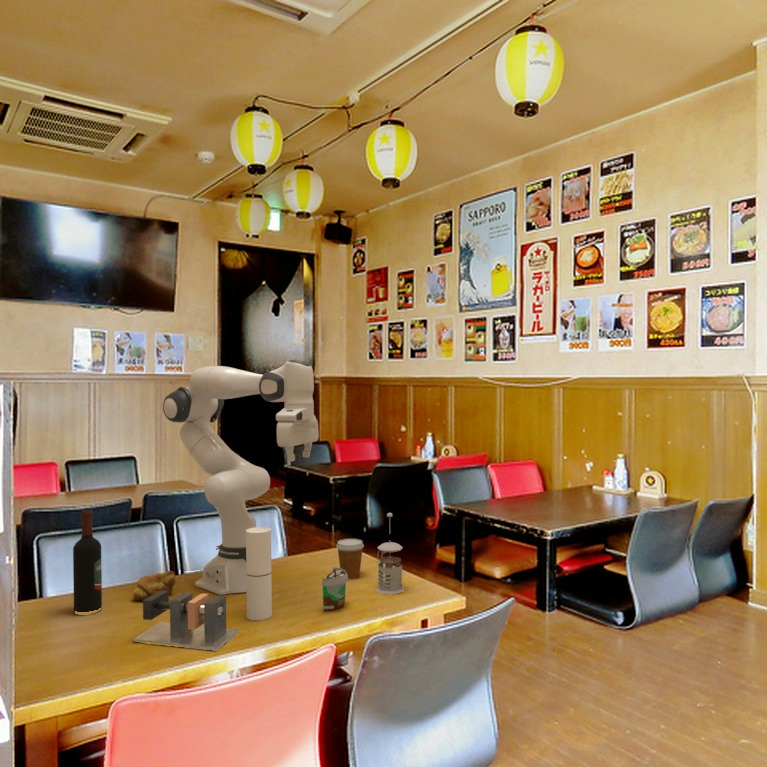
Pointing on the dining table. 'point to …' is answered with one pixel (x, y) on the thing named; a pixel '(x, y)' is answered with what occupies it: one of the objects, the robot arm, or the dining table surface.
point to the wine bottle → (87, 568)
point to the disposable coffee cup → (350, 556)
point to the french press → (389, 568)
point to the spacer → (196, 611)
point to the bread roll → (154, 585)
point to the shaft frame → (201, 638)
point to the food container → (334, 590)
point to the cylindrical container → (258, 573)
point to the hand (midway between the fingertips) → (299, 459)
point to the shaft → (163, 605)
